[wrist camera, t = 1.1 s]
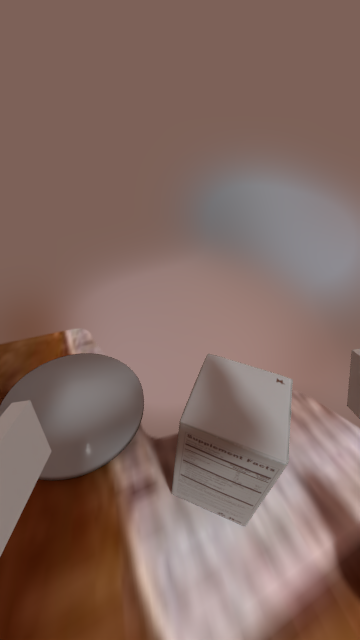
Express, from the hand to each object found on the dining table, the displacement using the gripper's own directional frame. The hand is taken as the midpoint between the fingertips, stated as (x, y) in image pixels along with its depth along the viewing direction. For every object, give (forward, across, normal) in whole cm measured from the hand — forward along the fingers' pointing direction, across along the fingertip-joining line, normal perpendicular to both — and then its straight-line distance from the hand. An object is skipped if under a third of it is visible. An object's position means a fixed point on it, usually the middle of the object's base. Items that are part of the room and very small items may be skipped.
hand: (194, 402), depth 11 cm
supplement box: (+11, +1, -18) cm, 21 cm away
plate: (+18, -14, -12) cm, 26 cm away
